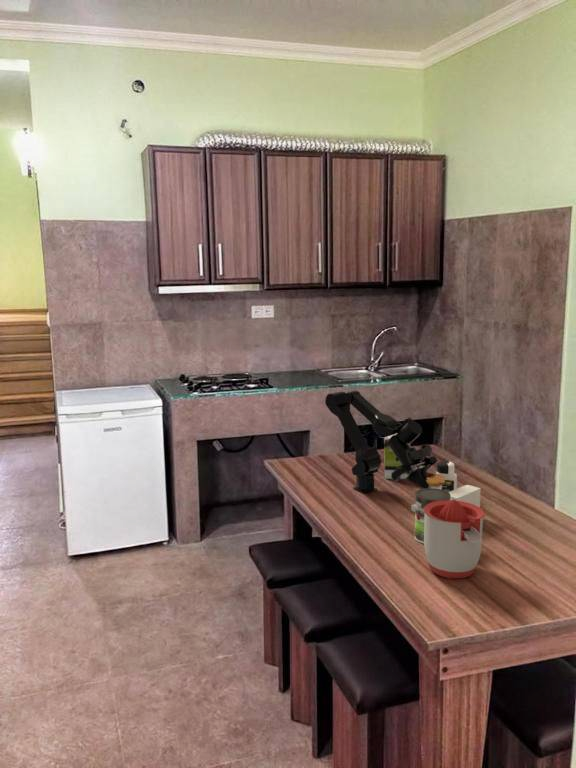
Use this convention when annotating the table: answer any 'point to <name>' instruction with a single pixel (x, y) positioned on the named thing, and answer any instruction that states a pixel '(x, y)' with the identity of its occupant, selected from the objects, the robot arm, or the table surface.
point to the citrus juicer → (453, 537)
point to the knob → (435, 481)
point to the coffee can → (421, 501)
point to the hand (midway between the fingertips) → (428, 489)
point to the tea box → (391, 461)
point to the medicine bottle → (447, 475)
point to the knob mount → (463, 495)
